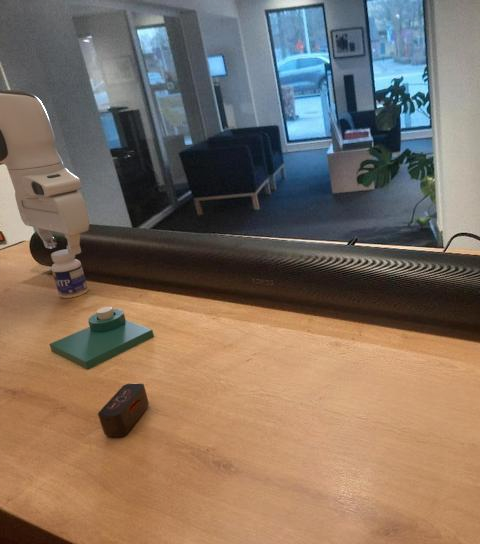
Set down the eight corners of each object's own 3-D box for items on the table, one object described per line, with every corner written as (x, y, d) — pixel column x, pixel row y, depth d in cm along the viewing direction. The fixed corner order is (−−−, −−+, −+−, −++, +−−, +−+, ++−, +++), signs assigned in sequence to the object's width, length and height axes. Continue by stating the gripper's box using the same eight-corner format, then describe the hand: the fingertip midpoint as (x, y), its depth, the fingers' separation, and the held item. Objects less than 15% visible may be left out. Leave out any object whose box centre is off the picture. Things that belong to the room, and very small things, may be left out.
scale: (50, 351, 78) (45, 334, 77) (116, 322, 87) (112, 306, 86) (88, 370, 72) (82, 352, 71) (155, 336, 81) (151, 320, 80)
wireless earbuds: (154, 400, 64) (148, 379, 63) (125, 438, 57) (118, 415, 56) (120, 401, 64) (114, 379, 63) (87, 438, 58) (80, 415, 57)
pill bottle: (53, 297, 99) (40, 256, 96) (74, 287, 104) (62, 247, 101) (74, 299, 98) (61, 257, 95) (94, 288, 102) (83, 248, 99)
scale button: (95, 319, 82) (93, 311, 82) (109, 313, 84) (107, 305, 83) (103, 322, 81) (101, 313, 80) (117, 316, 83) (114, 308, 82)
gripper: (-2, 181, 96) (22, 249, 101) (48, 187, 85) (73, 263, 90) (33, 175, 100) (54, 239, 106) (85, 179, 89) (106, 251, 94)
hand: (63, 250), depth 98 cm, fingers open, 8 cm apart
